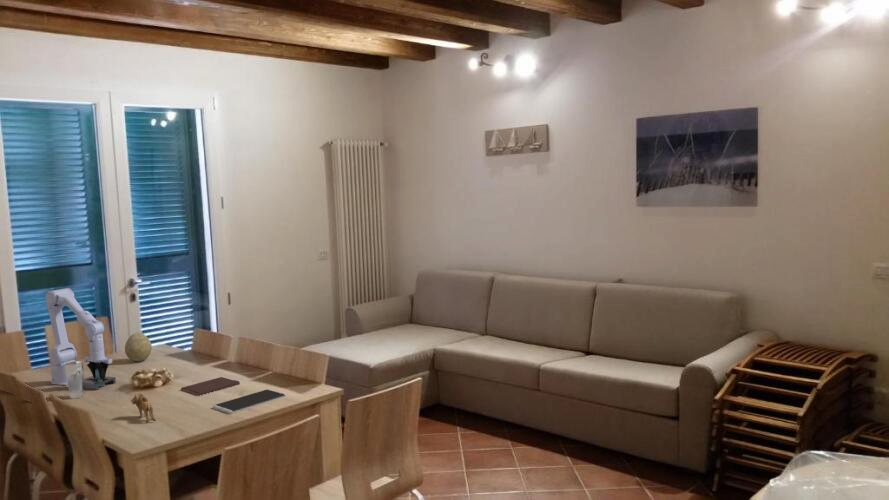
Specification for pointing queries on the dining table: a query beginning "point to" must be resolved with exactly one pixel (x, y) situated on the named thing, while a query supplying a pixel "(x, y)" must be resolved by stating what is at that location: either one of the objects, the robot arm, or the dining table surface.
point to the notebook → (210, 386)
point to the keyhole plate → (96, 382)
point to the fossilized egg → (138, 347)
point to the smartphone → (248, 401)
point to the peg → (98, 377)
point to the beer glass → (74, 379)
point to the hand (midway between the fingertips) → (99, 378)
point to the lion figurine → (143, 406)
